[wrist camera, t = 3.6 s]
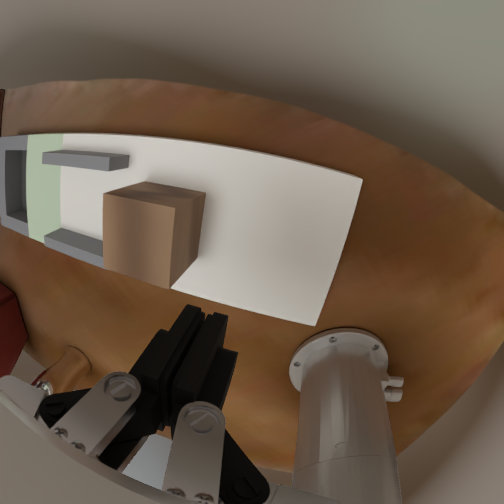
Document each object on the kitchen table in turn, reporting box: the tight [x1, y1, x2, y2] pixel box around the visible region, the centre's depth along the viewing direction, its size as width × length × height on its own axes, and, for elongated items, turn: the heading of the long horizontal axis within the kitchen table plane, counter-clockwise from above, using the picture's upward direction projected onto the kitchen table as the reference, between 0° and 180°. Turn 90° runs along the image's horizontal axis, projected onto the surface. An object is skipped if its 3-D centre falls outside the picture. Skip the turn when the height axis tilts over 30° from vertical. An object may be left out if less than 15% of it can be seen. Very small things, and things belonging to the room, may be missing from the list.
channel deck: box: [0, 133, 363, 326], centre depth 25 cm, size 48×14×7 cm, turn 79°
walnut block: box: [103, 181, 206, 289], centre depth 21 cm, size 6×6×6 cm
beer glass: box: [30, 347, 91, 395], centre depth 35 cm, size 7×7×15 cm
